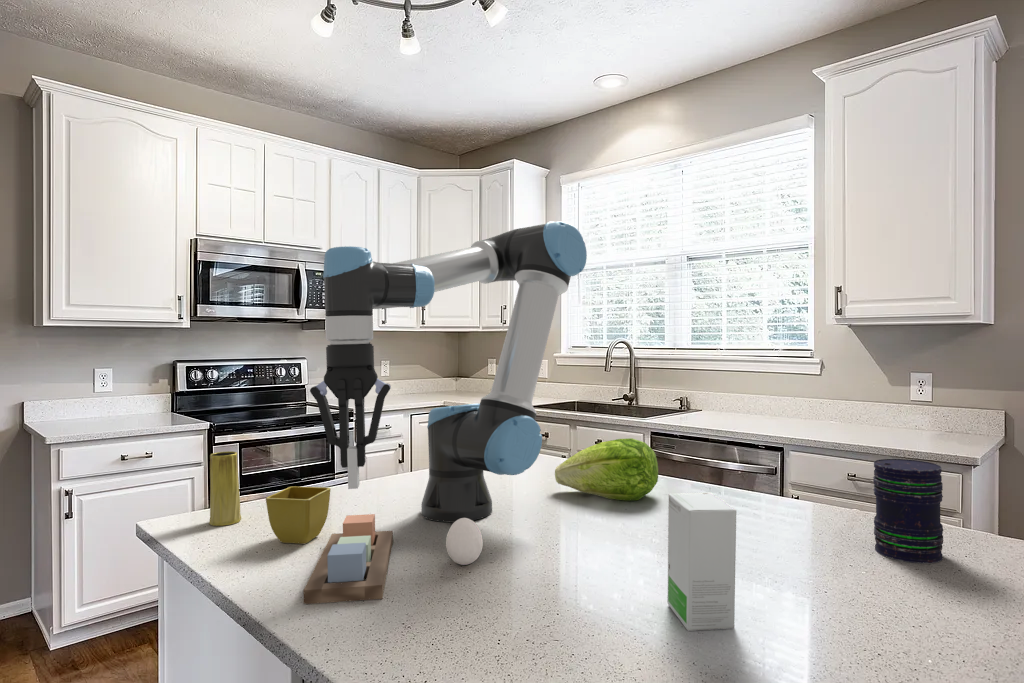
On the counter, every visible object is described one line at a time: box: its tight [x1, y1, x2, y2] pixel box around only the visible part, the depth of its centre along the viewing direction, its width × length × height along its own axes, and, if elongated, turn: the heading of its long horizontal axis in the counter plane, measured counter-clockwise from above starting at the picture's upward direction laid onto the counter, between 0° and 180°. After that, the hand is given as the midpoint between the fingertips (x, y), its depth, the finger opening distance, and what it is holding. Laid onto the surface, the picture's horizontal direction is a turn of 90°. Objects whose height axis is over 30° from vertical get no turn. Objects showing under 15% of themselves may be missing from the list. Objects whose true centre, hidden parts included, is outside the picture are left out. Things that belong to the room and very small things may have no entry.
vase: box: [208, 450, 242, 527], centre depth 131 cm, size 6×6×14 cm
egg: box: [445, 518, 484, 566], centre depth 104 cm, size 6×6×8 cm
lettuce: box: [554, 438, 659, 502], centre depth 147 cm, size 14×24×15 cm
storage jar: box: [872, 458, 944, 565], centre depth 106 cm, size 10×10×15 cm
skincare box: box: [666, 491, 737, 632], centre depth 83 cm, size 8×7×16 cm
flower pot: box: [265, 485, 331, 545], centre depth 118 cm, size 9×9×9 cm
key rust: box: [342, 513, 376, 545], centre depth 111 cm, size 5×5×4 cm
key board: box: [302, 530, 394, 605], centre depth 103 cm, size 11×26×2 cm, turn 7°
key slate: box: [327, 543, 366, 583], centre depth 95 cm, size 5×5×4 cm
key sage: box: [337, 535, 371, 562], centre depth 103 cm, size 5×5×4 cm
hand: (353, 486), depth 103 cm, fingers closed
